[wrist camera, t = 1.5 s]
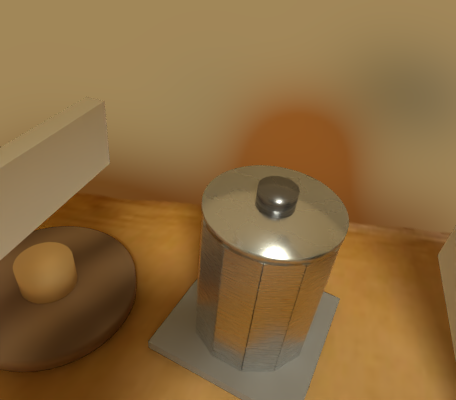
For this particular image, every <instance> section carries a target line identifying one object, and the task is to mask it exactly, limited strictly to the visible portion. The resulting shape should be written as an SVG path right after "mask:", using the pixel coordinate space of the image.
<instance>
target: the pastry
mask: <svg viewBox="0 0 456 400" xmlns="http://www.w3.org/2000/svg"><path fill="white" fill-rule="evenodd" d="M13 272H14V275H15V278H16V281H17V283H18V286H19V289H20V292H21V294H22V296H23V297H24V298H25V299H26V300H27V301H29V302H32V303H36V304H46V303H52V302H55V301H58V300H60V299H62V298H64V297H65V296H67V295H68V294H69V293H70V292H71V291H72V290H73V289H74V287H75V285H76V283H77V272H76V267H75V263H74V258H73V254H72V251H71V250H70V249H69V248H68V247H67V246H66V245H63V244H61V243H56V242H45V243H40V244H36V245H33V246H31V247H29V248H27V249H26V250H24V251H23V252H21V253H20V254H19V255H18V256H17V258H16V259H15V261H14V263H13Z"/></svg>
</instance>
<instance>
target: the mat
mask: <svg viewBox="0 0 456 400" xmlns="http://www.w3.org/2000/svg"><path fill="white" fill-rule="evenodd" d="M197 284H198V278H197V280H196V281H195V282H194V284H193V285H192V286H191V287H190V289H189V290H188V291H187V293H186V294H185V295H184V296H183V298H182V299H181V300H180V301H179V303H178V304H177V305H176V307H175V308H174V309H173V310H172V312H171V313H170V314H169V316H168V317H167V318H166V319H165V321H164V322H163V323H162V325H161V326H160V327H159V328H158V330H157V331H156V332H155V334H154V335H153V336H152V337H151V339H150V340H149V341H148V345H149V348H151V349H152V350H154V351H156V352H158V353H160V354H161V355H163V356H165V357H167V358H168V359H170V360H172V361H174V362H176V363H177V364H179V365H181V366H183V367H185V368H186V369H188V370H190V371H192V372H194V373H195V374H197V375H199V376H201V377H202V378H204V379H206V380H208V381H210V382H211V383H213V384H215V385H217V386H219V387H220V388H222V389H224V390H226V391H227V392H229V393H231V394H233V395H235V396H236V397H238V398H240V399H242V400H304V399H305V396H306V393H307V390H308V387H309V385H310V382H311V379H312V376H313V373H314V370H315V368H316V365H317V362H318V359H319V356H320V354H321V351H322V348H323V345H324V342H325V339H326V337H327V334H328V331H329V328H330V325H331V322H332V320H333V317H334V314H335V311H336V308H337V305H338V303H339V300H340V298H337V297H335V296H333V295H330V294H328V293H326V292H323V295H322V297H321V300H320V303H319V306H318V308H317V311H316V314H315V316H314V319H313V322H312V325H311V327H310V330H309V333H308V335H307V338H306V340H305V343H304V345H303V348H302V350H301V353H300V355H299V357H297V358H295V359H294V360H292V361H291V362H289V363H287V364H286V365H284V366H282V367H281V368H279V369H278V370H276V371H274V372H241V371H239V370H237V369H235V368H233V367H231V366H229V365H228V364H226V363H224V362H222V361H220V360H218V359H216V358H214V357H213V356H211V354H210V353H209V351H208V350H207V348H206V346H205V345H204V343H203V342H202V340H201V339H200V337H199V335H198V334H197V332H196V299H197Z"/></svg>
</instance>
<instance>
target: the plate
mask: <svg viewBox="0 0 456 400" xmlns="http://www.w3.org/2000/svg"><path fill="white" fill-rule="evenodd" d="M45 242H56V243H61V244H63V245H66V246H67V247H68V248H69V249H70V250H71V251H72V254H73V258H74V263H75V267H76V272H77V283H76V285H75V287H74V289H73V290H72V291H71V292H70V293H69V294H68V295H67V296H65V297H64V298H62V299H60V300H58V301H55V302H52V303H46V304H36V303H32V302H29V301H27V300H26V299H25V298H24V297H23V296H22V294H21V292H20V289H19V286H18V283H17V281H16V278H15V275H14V272H13V263H14V261H15V259H16V258H17V256H18V255H19V254H20V253H21V252H23V251H24V250H26V249H27V248H29V247H31V246H33V245H36V244H40V243H45ZM135 296H136V275H135V266H134V263H133V260H132V258H131V256H130V254H129V252H128V251H127V249H126V248H125V247H124V246H123V245H122V244H121V243H120V242H119V241H117V240H116V239H115V238H113V237H111V236H109V235H107V234H105V233H103V232H100V231H97V230H94V229H90V228H84V227H74V226H61V227H51V228H45V229H40V230H36V231H33V232H32V233H31V234H29V235H28V236H27V237H26V238H25V239H24V240H23V241H22V242H20V243H19V244H18V245H17V246H16V247H15V248H14V249H13V250H11V251H10V252H9V253H8V254H7V255H6V256H5V257H3V258H2V259H1V260H0V370H6V371H12V372H34V371H41V370H47V369H52V368H55V367H59V366H62V365H65V364H68V363H70V362H73V361H75V360H78V359H80V358H82V357H83V356H85V355H87V354H89V353H91V352H92V351H94V350H95V349H97V348H98V347H100V346H101V345H102V344H104V343H105V342H106V341H107V340H108V339H110V338H111V337H112V336H113V335H114V334H115V333H116V332H117V331H118V329H119V328H120V327H121V325H122V324H123V323H124V322H125V320H126V318H127V317H128V315H129V313H130V311H131V309H132V306H133V304H134V300H135Z"/></svg>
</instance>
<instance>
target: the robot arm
mask: <svg viewBox="0 0 456 400" xmlns="http://www.w3.org/2000/svg"><path fill="white" fill-rule="evenodd" d="M109 164H110V158H109V147H108V136H107V125H106V114H105V102H104V101H101V100H97V99H94V98H89V97H85V98H83V99H82V100H80V101H78V102H77V103H75V104H73V105H72V106H70V107H68V108H67V109H65V110H63V111H62V112H60V113H58V114H56V115H55V116H53V117H51V118H49V119H48V120H46V121H44V122H43V123H41V124H39V125H38V126H36V127H34V128H32V129H31V130H29V131H27V132H26V133H24V134H22V135H20V136H19V137H17V138H16V139H14V140H12V141H11V142H9V143H7V144H5V145H3V146H2V147H0V260H1V259H2V258H3V257H5V256H6V255H7V254H8V253H9V252H10V251H11V250H13V249H14V248H15V247H16V246H17V245H18V244H19V243H20V242H22V241H23V240H24V239H25V238H26V237H27V236H28V235H29V234H31V233H32V232H33V231H34V230H35V229H36V228H37V227H39V226H40V225H41V224H42V223H43V222H44V221H45V220H46V219H48V218H49V217H50V216H51V215H52V214H53V213H54V212H55V211H57V210H58V209H59V208H60V207H61V206H62V205H63V204H65V203H66V202H67V201H68V200H69V199H70V198H71V197H72V196H74V195H75V194H76V193H77V192H78V191H79V190H80V189H81V188H83V187H84V186H85V185H86V184H87V183H88V182H89V181H90V180H92V179H93V178H94V177H95V176H96V175H97V174H98V173H99V172H101V171H102V170H103V169H104V168H105V167H106V166H107V165H109ZM438 261H439V266H440V272H441V278H442V284H443V290H444V296H445V302H446V308H447V313H448V319H449V325H450V331H451V337H452V343H453V349H454V354H455V360H456V226H455V228H454V229H453V231H452V232H451V234H450V236H449V237H448V239H447V241H446V242H445V244H444V246H443V247H442V249H441V250H440V252H439V254H438Z"/></svg>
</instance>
